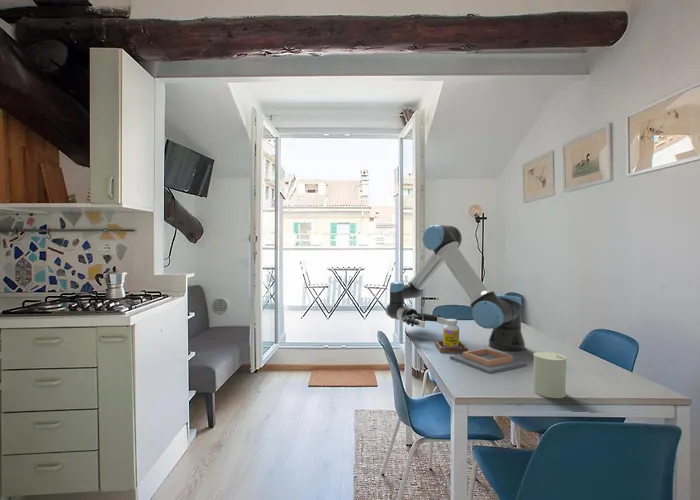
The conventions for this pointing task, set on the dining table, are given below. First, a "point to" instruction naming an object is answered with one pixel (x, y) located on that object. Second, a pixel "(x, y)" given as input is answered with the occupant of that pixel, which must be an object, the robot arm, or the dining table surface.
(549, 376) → the can
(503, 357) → the collar
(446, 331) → the supplement bottle
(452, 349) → the collar
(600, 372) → the dining table surface
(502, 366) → the mat
